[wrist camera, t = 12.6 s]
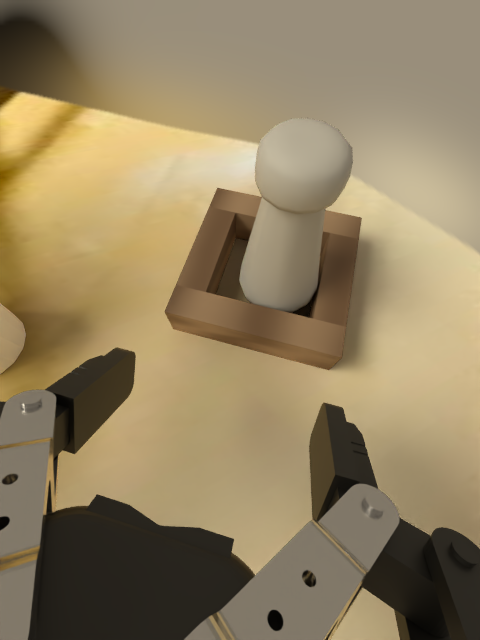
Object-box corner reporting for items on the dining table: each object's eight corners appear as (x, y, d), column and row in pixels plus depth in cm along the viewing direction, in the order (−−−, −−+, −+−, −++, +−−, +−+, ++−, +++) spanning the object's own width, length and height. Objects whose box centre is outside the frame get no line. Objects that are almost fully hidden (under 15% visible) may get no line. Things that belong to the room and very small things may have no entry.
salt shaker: (284, 253, 26) (322, 83, 14) (325, 303, 24) (409, 153, 12) (226, 283, 25) (214, 123, 13) (264, 338, 23) (291, 210, 11)
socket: (173, 328, 23) (164, 311, 20) (219, 214, 28) (217, 188, 25) (328, 370, 22) (341, 357, 19) (348, 242, 26) (361, 217, 24)
